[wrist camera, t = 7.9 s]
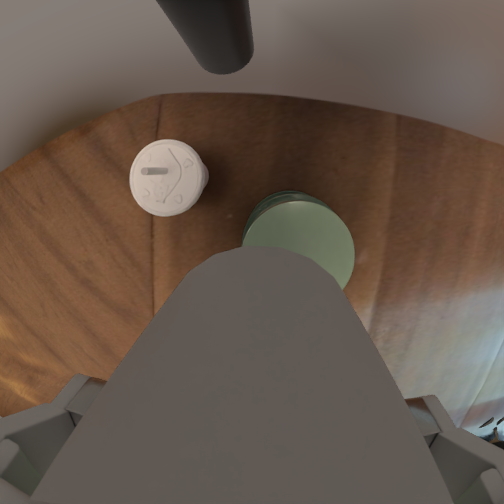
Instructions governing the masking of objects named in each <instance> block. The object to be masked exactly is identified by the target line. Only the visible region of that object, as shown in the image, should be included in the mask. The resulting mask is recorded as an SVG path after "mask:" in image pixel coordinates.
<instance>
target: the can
mask: <svg viewBox="0 0 504 504" xmlns="http://www.w3.org/2000/svg"><path fill="white" fill-rule="evenodd" d="M28 504H454V503H453V500H452V498H451V496H450V493H449V491H448V489H447V486H446V484H445V482H444V480H443V477H442V475H441V473H440V471H439V469H438V466H437V464H436V462H435V460H434V458H433V456H432V454H431V452H430V449H429V447H428V445H427V443H426V441H425V439H424V437H423V435H422V433H421V431H420V429H419V427H418V425H417V423H416V421H415V419H414V417H413V415H412V413H411V411H410V409H409V407H408V405H407V404H406V402H405V400H404V398H403V396H402V394H401V392H400V390H399V388H398V386H397V385H396V383H395V381H394V379H393V377H392V375H391V374H390V372H389V370H388V368H387V366H386V364H385V363H384V361H383V359H382V357H381V355H380V354H379V352H378V350H377V348H376V347H375V345H374V343H373V341H372V340H371V338H370V336H369V334H368V333H367V331H366V329H365V327H364V326H363V324H362V322H361V321H360V319H359V317H358V316H357V314H356V312H355V311H354V309H353V307H352V305H351V304H350V302H349V300H348V299H347V297H346V296H345V294H344V292H343V291H342V289H341V287H340V286H339V284H338V282H337V281H336V279H335V278H334V277H333V276H332V275H331V274H329V273H328V272H327V271H326V270H325V269H323V268H322V267H321V266H320V265H318V264H317V263H316V262H315V261H313V260H312V259H311V258H308V257H306V256H303V255H300V254H297V253H295V252H292V251H289V250H286V249H284V248H281V247H267V246H243V247H239V248H236V249H232V250H228V251H225V252H221V253H218V254H214V255H213V256H211V257H210V258H208V259H207V260H205V261H204V262H202V263H201V264H199V265H198V266H196V267H195V268H193V269H192V270H190V271H189V272H188V273H187V274H186V276H185V277H184V278H183V280H182V281H181V282H180V284H179V285H178V286H177V287H176V289H175V290H174V291H173V293H172V294H171V295H170V297H169V298H168V299H167V301H166V302H165V303H164V304H163V306H162V307H161V308H160V310H159V311H158V312H157V314H156V315H155V316H154V318H153V319H152V320H151V322H150V323H149V324H148V326H147V327H146V329H145V330H144V331H143V333H142V334H141V335H140V337H139V338H138V339H137V341H136V342H135V343H134V345H133V346H132V348H131V349H130V350H129V352H128V353H127V354H126V356H125V357H124V359H123V360H122V361H121V363H120V364H119V366H118V367H117V368H116V370H115V371H114V373H113V374H112V375H111V377H110V378H109V380H108V381H107V382H106V384H105V385H104V387H103V388H102V390H101V391H100V392H99V394H98V395H97V397H96V398H95V400H94V401H93V402H92V404H91V405H90V407H89V408H88V410H87V411H86V413H85V414H84V416H83V417H82V419H81V420H80V421H79V423H78V424H77V426H76V427H75V429H74V430H73V432H72V433H71V435H70V436H69V438H68V439H67V441H66V442H65V444H64V446H63V447H62V449H61V450H60V452H59V453H58V455H57V456H56V458H55V459H54V461H53V462H52V464H51V466H50V467H49V469H48V470H47V472H46V474H45V475H44V477H43V478H42V480H41V481H40V483H39V485H38V486H37V488H36V490H35V491H34V493H33V494H32V496H31V498H30V500H29V502H28Z"/></svg>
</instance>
